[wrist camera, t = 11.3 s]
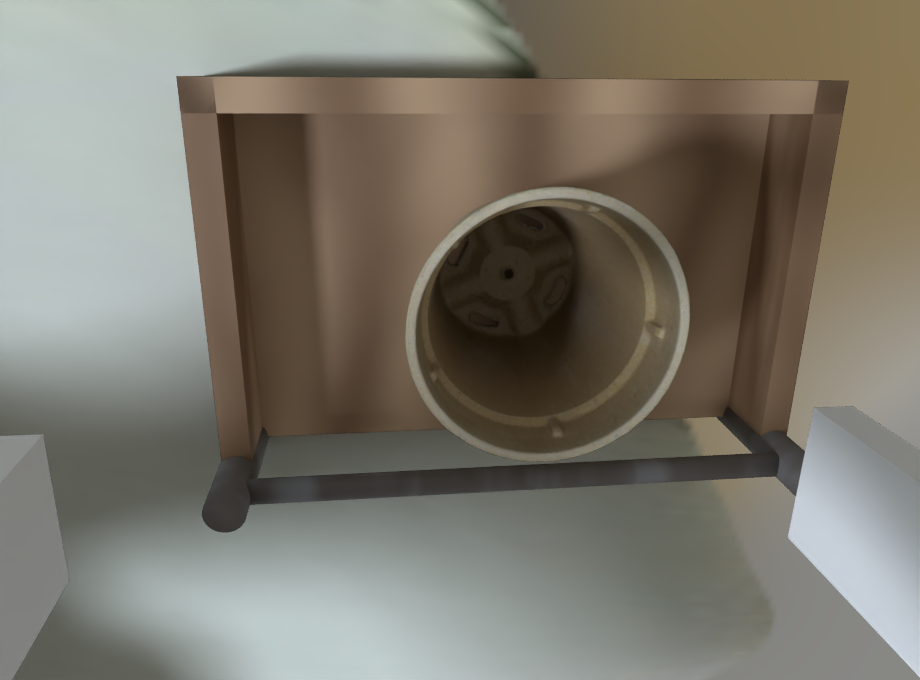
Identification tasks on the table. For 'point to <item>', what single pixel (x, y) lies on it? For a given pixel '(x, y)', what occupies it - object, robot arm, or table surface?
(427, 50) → the table surface
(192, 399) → the table surface
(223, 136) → the wooden tray
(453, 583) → the table surface
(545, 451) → the flower pot
